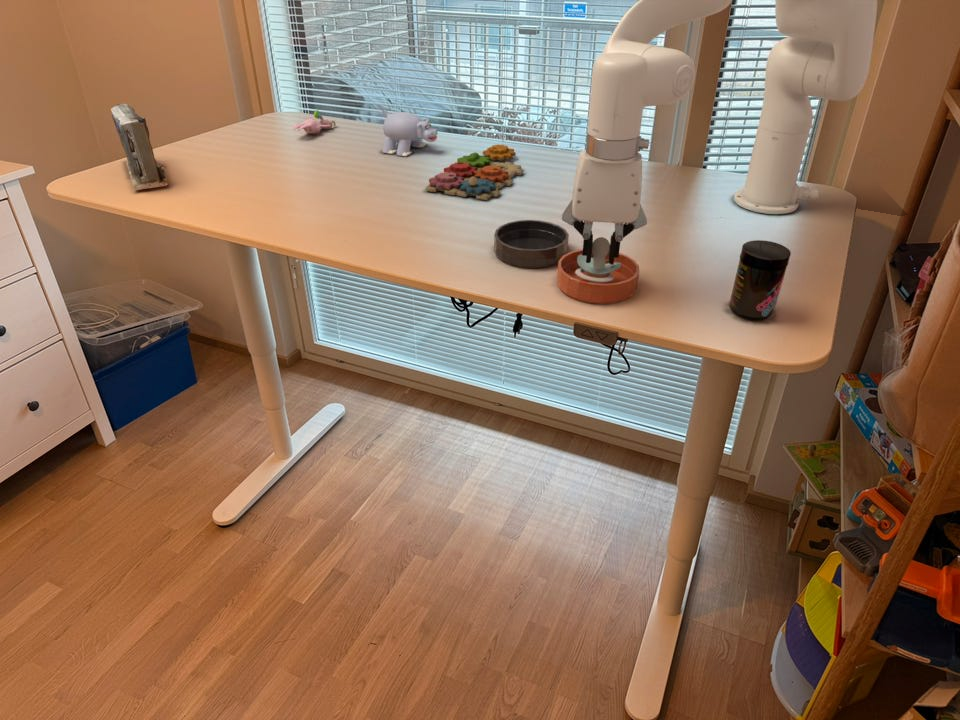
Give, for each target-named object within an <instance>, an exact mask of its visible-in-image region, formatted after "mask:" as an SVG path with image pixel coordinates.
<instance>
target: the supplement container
mask: <svg viewBox="0 0 960 720" xmlns="http://www.w3.org/2000/svg"><path fill="white" fill-rule="evenodd" d="M791 254H792V252H791V250H790V249H789V248H787V246H785V245H783V244H781V243H778V242H775V241H769V240H762V239H761V240H760V239H756V240H749V241H746V242H745V243H743V244H742V246H741V251H740V254H739V259H738V264H737V269H736V273H735V277H734V280H733V281H734V282H733V286H732V291H731V294H730V299H729V303H728V307H729V310H730V311H731V313H732V314H733V315H734V316H735V317H738V318H740V319H742V320H745V321H751V322H763V321H767V320H769V319H771V318H772V317H773V315H774V314H775V310H776V308H777V304H778V300H779V297H780V294H781V289H782V286H783V283H784V279H785V275H786V272H787V268H788V266H789V263H790V258H791V256H792V255H791Z"/></svg>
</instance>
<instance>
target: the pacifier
mask: <svg viewBox="0 0 960 720" xmlns="http://www.w3.org/2000/svg"><path fill="white" fill-rule="evenodd" d="M609 251H610V241H609V240H608V239H607V238H606V237H604V236H600V237H596V238H595V239H593V245H592V252H593V254H594V256H593V258H591V262H590V263H586V256H582V254H581V255H579V256H578V257H577V263H578V265H579V266H580V267H581V268H579V269H577V270H576V271H575V273H576V275H577V276H578V277H580V278H582V279H584V280H587V281H591V282H597V283H606V282H610V281H612V280H613V279H614V277H613V275H612V274H611V272H614V271H616V270H617V269H619V268H620V267H621V265H622V263H618V262H617V263H614V264H613V265H611V264H609V263H608V264H605V263H606V255H607V254H608V253H609ZM612 267H613V268H612ZM582 272H587V274H588V275H590V276H592V277H590V276H587V275H585V274H583V273H582ZM594 277H596V278H594ZM605 277H606V278H605Z"/></svg>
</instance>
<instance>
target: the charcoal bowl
mask: <svg viewBox="0 0 960 720" xmlns="http://www.w3.org/2000/svg"><path fill="white" fill-rule="evenodd" d="M493 235H494V236H493V241H494V242H493V252H494V254H495V255H496V257H498V259H499V260H501V262H503V263H505V264H507V265H510V266H512V267H517V268H523V269H543V268H544V269H545V268H549V267H552V266H556V265H558V261H559V260H560V259H561V258H562V256H564V255H566V254H568V249H569V238H570V237H569V236H570V235H569V232H568V231H567V230H566V229H565V228H564V227H563V226H560V225H559V224H555V223H552V222H550V221H545V220H536V219H522V220H515V221H509V222H507V223H504V224H501V225H500V226H499V227H497V228H496V229H495V231H494V234H493Z"/></svg>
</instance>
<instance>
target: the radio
mask: <svg viewBox="0 0 960 720" xmlns="http://www.w3.org/2000/svg"><path fill="white" fill-rule="evenodd" d="M110 113H111V117H112V120H113V123H114V126H115V128H116V131H117V134H118V136H119V140H120V142H121V146H122V148H123V151H124V153H125V156H126V160H127V161H125V162H126V167H127V171H128V174H129V177H130V181H131V182H130V183H131V184H132V186H133V188H134V190H135V191H140V190H141V191H142V190H146V189H153V188H159V187H165V186H168V185H169V183H168V179H167V176H166V172H165V168H164V166H163V165H162V164H157V160H156V158H155V154H154V149H153V145H152V143H151V140H150V130H149V127H148V125H147V121H146V118H145V117H143V116H140V115H138V114H137V113H136V110H135V108H134V107H133V106H131V105H129V104H126V103H116V105H115V106H113V107H112V108H110Z"/></svg>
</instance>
